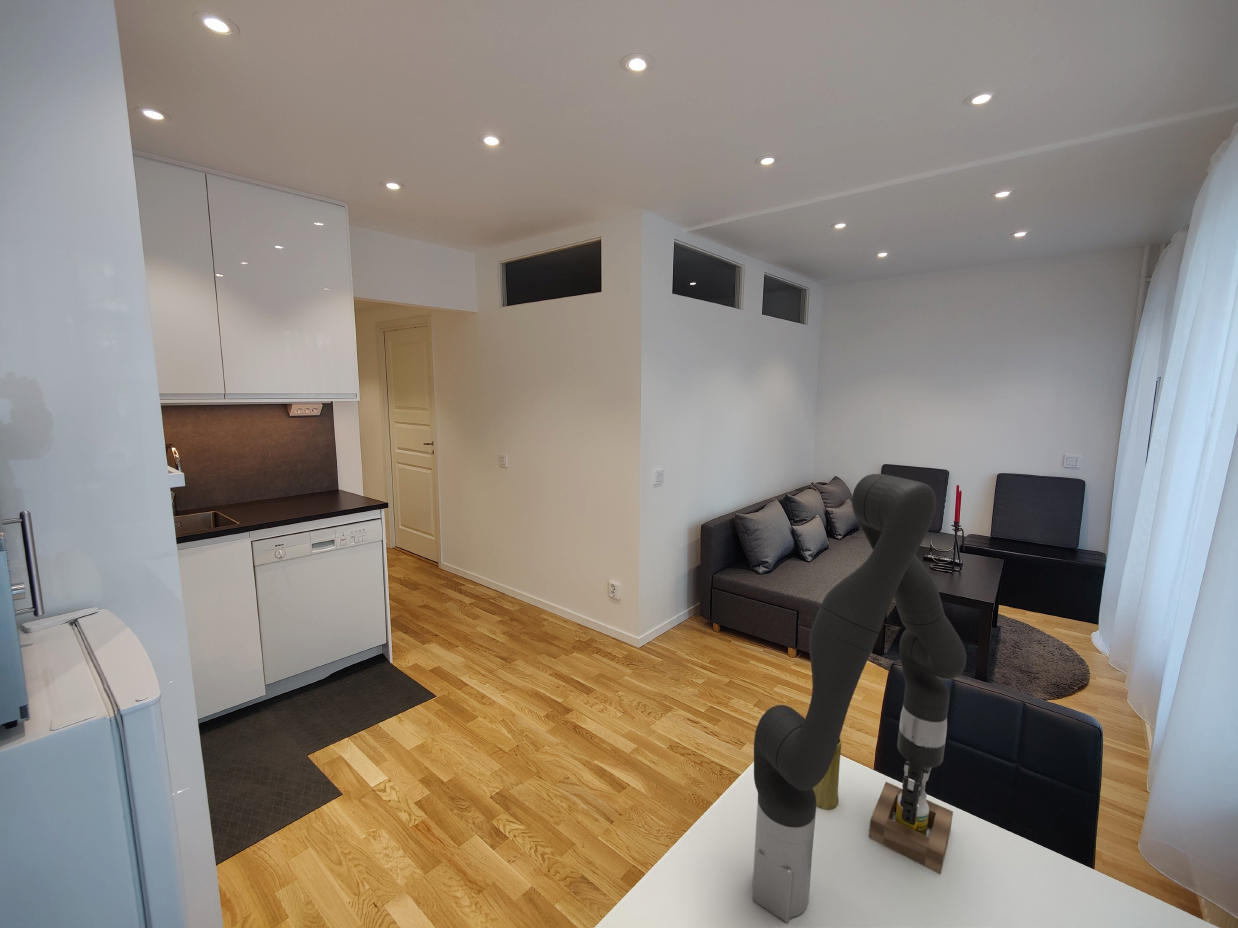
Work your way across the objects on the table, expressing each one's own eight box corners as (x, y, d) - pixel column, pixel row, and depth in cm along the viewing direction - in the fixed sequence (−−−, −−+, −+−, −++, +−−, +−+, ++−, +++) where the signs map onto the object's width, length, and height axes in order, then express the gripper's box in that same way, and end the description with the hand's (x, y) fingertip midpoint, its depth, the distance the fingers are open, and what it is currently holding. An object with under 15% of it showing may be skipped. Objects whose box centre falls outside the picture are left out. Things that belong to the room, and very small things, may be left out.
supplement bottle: (903, 817, 106) (908, 775, 104) (931, 837, 102) (936, 793, 100) (888, 830, 103) (893, 787, 101) (916, 850, 99) (921, 806, 97)
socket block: (940, 873, 94) (943, 854, 94) (868, 836, 102) (870, 818, 101) (950, 828, 104) (953, 811, 103) (884, 797, 111) (885, 781, 110)
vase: (841, 794, 112) (846, 734, 109) (835, 814, 107) (840, 752, 104) (811, 782, 115) (815, 723, 113) (804, 801, 110) (808, 740, 107)
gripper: (907, 705, 106) (899, 775, 109) (891, 743, 95) (882, 820, 98) (951, 720, 102) (941, 794, 105) (938, 762, 91) (928, 843, 94)
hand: (913, 806), depth 102 cm, fingers open, 8 cm apart
